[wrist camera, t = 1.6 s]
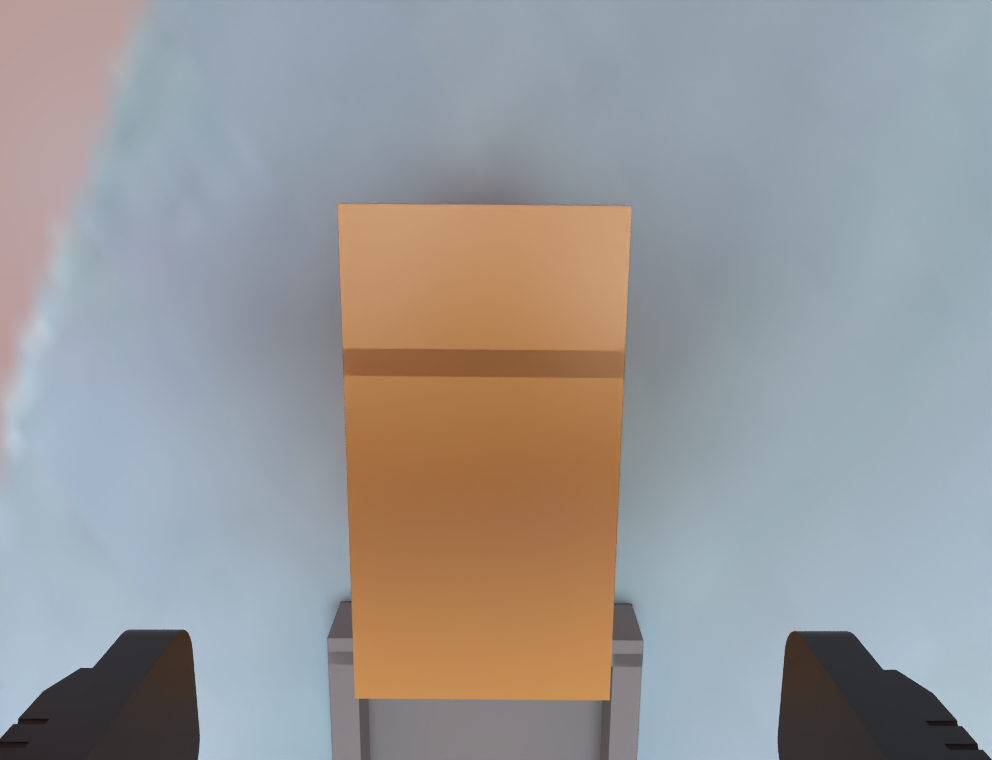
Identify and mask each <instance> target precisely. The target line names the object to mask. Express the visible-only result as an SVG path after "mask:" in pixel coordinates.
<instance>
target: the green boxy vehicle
mask: <svg viewBox="0 0 992 760" xmlns="http://www.w3.org/2000/svg"><path fill="white" fill-rule="evenodd" d="M327 643H328V667H329V690H330V714H331V737H332V760H637V749H638V731H639V713H640V694H641V676H642V658H643V638H642V635H641V632H640V628H639V625H638V622H637V619H636V616H635V613H634V610H633V607H632V604H614V611H613V633H612V656H611V678H610V700H483V699H355V688H354V660H353V631H352V602H341V603H340V605H339V608H338V611H337V613H336V616H335V619H334V622H333V624H332V627H331V630H330V632H329V635H328V638H327Z"/></svg>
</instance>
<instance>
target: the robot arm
mask: <svg viewBox="0 0 992 760" xmlns="http://www.w3.org/2000/svg"><path fill="white" fill-rule="evenodd" d="M199 742H200V734H199V720H198V709H197V697H196V685H195V673H194V661H193V650H192V643H191V639H190V636H189V634H188V632H187V631H185V630H127V631H125V632H124V633H123V634H121V636H120V637H119V638H118V639H117V640H116V641H115V643H114V644H113V645H112V646H111V647H110V648H109V650H108V651H107V652H106V653H105V654H104V655H103V657H102V658H101V659H100V660H99V661H98V662H97V664H96V665H95V666H94V667H93V668H80V669H78V670H77V671H75V672H74V673H72V674H70V675H69V676H67V677H66V678H64V679H62V680H61V681H59V682H58V683H56V684H54V685H53V686H51V687H50V688H48V689H46V690H45V691H43V692H42V693H41V694H40V696H39V697H38V698H37V699H36V700H35V701H34V702H33V703H32V704H31V705H30V707H29V708H28V709H27V710H26V711H25V712H24V713H23V714H22V715H21V716H20V717H19V719H18V724H13V725H12V726H11V727H10V728H9V730H8V731H7V732H6V733H5V734H4V735H3V736H2V737H1V738H0V760H198V753H199ZM778 752H779V760H991V758H990V757H989V756H988V755H987V754H986V753H985V752H984V751H983V750H979V749H978V744H977V743H976V742H975V740H974V739H973V738H972V737H971V736H970V735H969V734H968V732H967V731H966V730H965V729H964V728H963V727H962V726H958V725H957V720H956V719H955V718H954V717H953V716H952V714H951V713H950V712H949V711H948V710H947V709H946V708H945V707H944V705H943V704H942V703H941V702H940V701H939V700H938V699H937V697H936V696H935V695H934V694H933V693H932V692H930V691H928V690H927V689H925V688H924V687H922V686H921V685H919V684H917V683H916V682H914V681H913V680H911V679H910V678H908V677H906V676H905V675H903V674H902V673H900V672H899V671H897V670H883V669H882V668H881V667H880V665H879V664H878V663H877V662H876V661H875V659H874V658H873V657H872V656H871V654H870V653H869V652H868V651H867V650H866V648H865V647H864V646H863V645H862V644H861V642H860V641H859V640H858V639H857V637H856V636H855V635H854V634H853V633H851V632H848V631H794V632H791V633H790V635H789V636H788V639H787V642H786V646H785V656H784V668H783V679H782V691H781V703H780V715H779V727H778Z"/></svg>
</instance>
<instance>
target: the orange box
mask: <svg viewBox="0 0 992 760" xmlns="http://www.w3.org/2000/svg"><path fill="white" fill-rule="evenodd" d="M631 209H632V206H626V205H530V204H412V203H341V204H338V228H339V257H340V285H341V314H342V343H343V372H344V400H345V429H346V458H347V487H348V516H349V544H350V573H351V602H352V631H353V660H354V688H355V699H483V700H610V678H611V656H612V633H613V611H614V589H615V566H616V544H617V522H618V499H619V477H620V455H621V432H622V410H623V388H624V366H625V343H626V321H627V299H628V276H629V254H630V232H631Z"/></svg>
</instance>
